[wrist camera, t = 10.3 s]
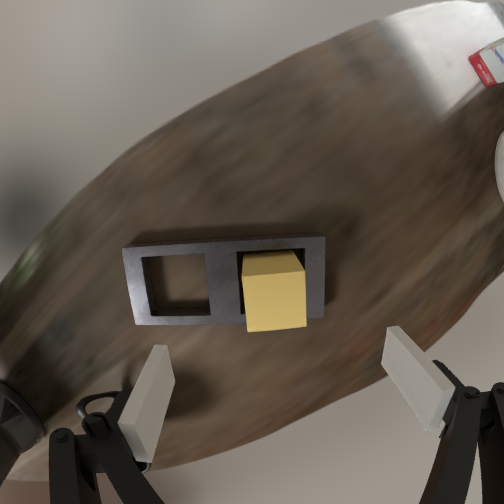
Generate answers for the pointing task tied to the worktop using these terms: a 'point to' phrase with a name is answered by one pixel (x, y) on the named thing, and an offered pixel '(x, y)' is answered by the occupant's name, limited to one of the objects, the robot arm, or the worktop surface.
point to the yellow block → (274, 291)
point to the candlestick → (500, 164)
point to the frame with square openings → (219, 276)
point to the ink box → (490, 63)
